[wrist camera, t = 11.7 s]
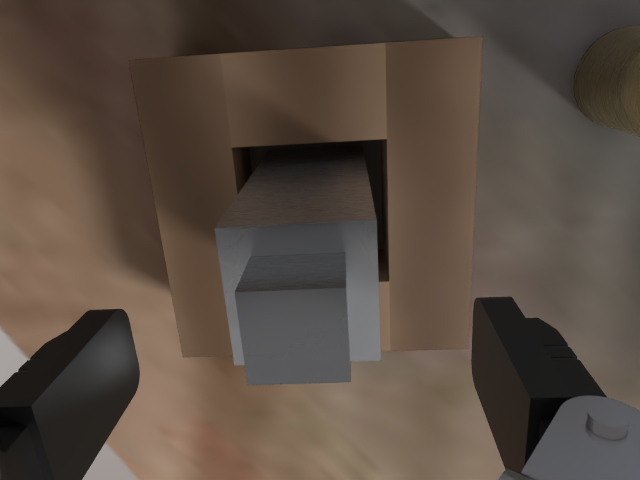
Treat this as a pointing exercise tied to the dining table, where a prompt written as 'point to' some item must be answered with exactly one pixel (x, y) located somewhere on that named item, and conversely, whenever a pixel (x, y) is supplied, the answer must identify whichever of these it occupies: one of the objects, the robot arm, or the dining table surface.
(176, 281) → the socket block
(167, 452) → the dining table surface
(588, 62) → the round bit
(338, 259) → the square bit
